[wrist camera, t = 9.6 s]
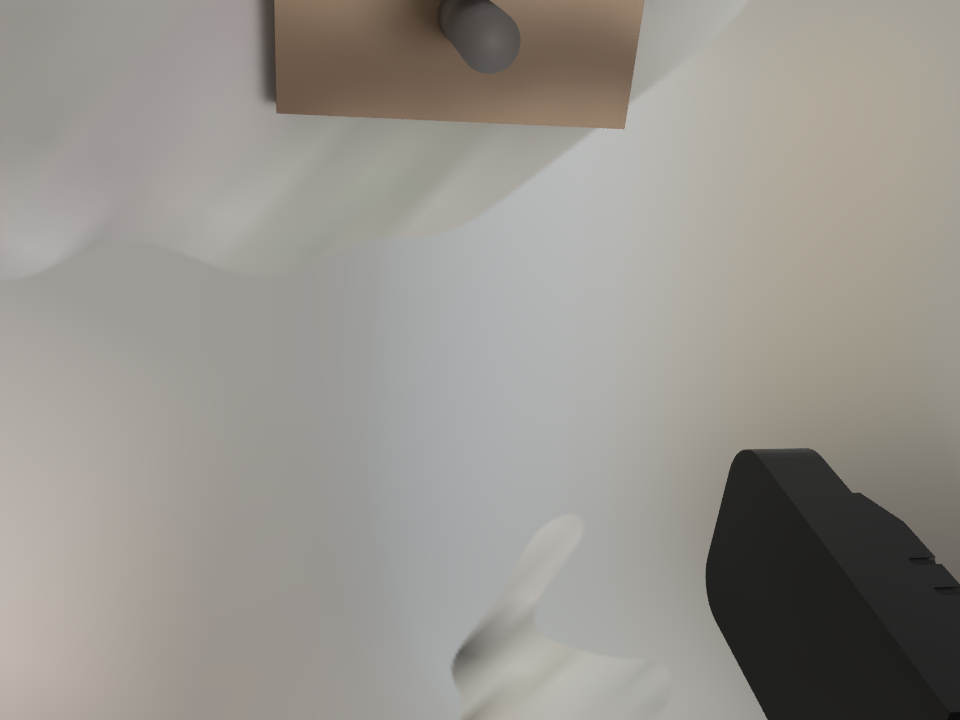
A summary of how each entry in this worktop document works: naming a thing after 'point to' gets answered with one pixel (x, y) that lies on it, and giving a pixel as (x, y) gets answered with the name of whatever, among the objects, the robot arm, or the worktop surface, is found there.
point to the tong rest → (458, 60)
